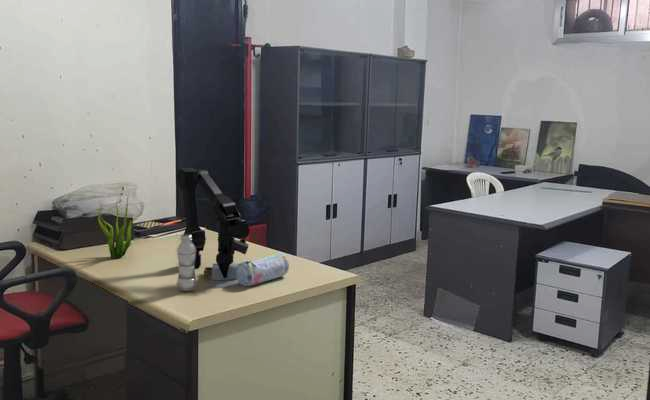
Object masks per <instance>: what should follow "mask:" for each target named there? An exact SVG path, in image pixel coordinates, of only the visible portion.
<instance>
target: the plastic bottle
mask: <svg viewBox="0 0 650 400" xmlns="http://www.w3.org/2000/svg"><path fill="white" fill-rule="evenodd" d="M180 241H181V242H180V243H179V244H178V247H177V250H176V252H177V253H176V254H177V260H178V261H177V262H178V275H177V276H178V277H177V280H176V281H177V282H176V287H177V289H178V291H180V292H192V291H194V290H195V289H196V288H197V278H196V270H195V269H196V268H195V256H196V247H195V246H194V244H193V243H192V242H191V241H192V235H191V234H184V233H183V234H181V235H180Z"/></svg>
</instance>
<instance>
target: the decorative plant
mask: <svg viewBox="0 0 650 400" xmlns="http://www.w3.org/2000/svg"><path fill="white" fill-rule="evenodd" d="M128 192H130V190H128ZM129 195H130V193H128V195H127V197H126V205H125V212H124V218H123V225H122V226H121V228H119V209H118V202H116V203H115V206H116V219H115V230H116V231H114V227H113V226H112V225H111V224H110V223H108V222H107V220H104V218H103V217H102V214H101V212H102V211H103V207H102V203H101V202H99V203H100V207H101V209H100V211H99V212H98V213H97V222H98V224H99V226H100V229H101V231H102V233H104V234H105V236H106V238H107V244H108V249H109V254H110V258H114V259H118V258H122V257H124V256H125V254H126V253H127V251H128V249H129V248H130V246H131V245H132V244H131V243H132V236H131V235H132V233H131V232H132V231H131V230H132V225H133V222H134V221H135V220H136V219H138V218H139V217H140V216H141V215H142V213H143V210H141V212H140V214H138V216H136V217H133V219H131V220H130V221H129V222H128V226H127V215H128V204H129ZM141 209H143V206H142V207H141ZM102 221H103V222H102ZM103 223H104V224H103ZM107 226H108V227H109V228H110V229H109V231H110V232H109V231H108V229H107ZM126 228H127V229H126ZM125 231H126V239H124V238H125V237H124V234H125ZM115 232H116V234H115ZM114 235H115V237H116V240H114ZM124 240H125V241H124Z"/></svg>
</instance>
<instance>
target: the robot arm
mask: <svg viewBox="0 0 650 400" xmlns="http://www.w3.org/2000/svg"><path fill="white" fill-rule="evenodd" d="M175 177H176V181H177V184H178V187H179V189H180V190H181V191H182V197H183V207H184V215H185V216H184V217H185V227H186V228H185V230H184V232H183V234H191V235H192V241H191V242H192V243H193V244H194V246H195V247H196V256H195V269H199V268H200V266H201V265H202V254H201V252H202V251H204V248H205V245H206V240H207V238H206V230H204V229H202V228H201V227H200V223H199V222H200V221H199V213H198V200H197V192H196V191H197V188H198V186H200V187H201V188H202V190H203V191H204V193H205V194H206V195H207V196H208V198H209V200H210V201H211V203H212V209H213V211H214V213H215V215H216V216H217V217H216V218H215V219H213V220H214V222H216V223H217V242H218V243H217V254H216V256H215V262H216V264H218V266H219V268H220V270H221V273H222V275H223V277H224V278H227V274H228V269H229V265H230V264H231V263H234V254H235V252H239V253H241V254H242V255H247V252H248V249H249V244H248V243H247V241H246V238H247V237H248V236H249V235H250V231H251V228H250V227H249V225H248V223H246V220H245V219H243V218H242V216H241V214H240V212H239V209H238V207H237V205H236V203H235V201H233V200H232V199H231V198H230V197H229V196H227V195H225V194H224V193H223V192H222V191H221V190H220V188H219V187H218V185H217V184H216V183H215V181H214V180H213V179H212V177H211V176H210V174H209V171H208V170H206V169H199V170H198V169H196V168H193V167H191V168H181V169H179V170H178V171H177V172H176V175H175ZM235 238H238V239H235ZM239 239H240V240H239Z"/></svg>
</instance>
